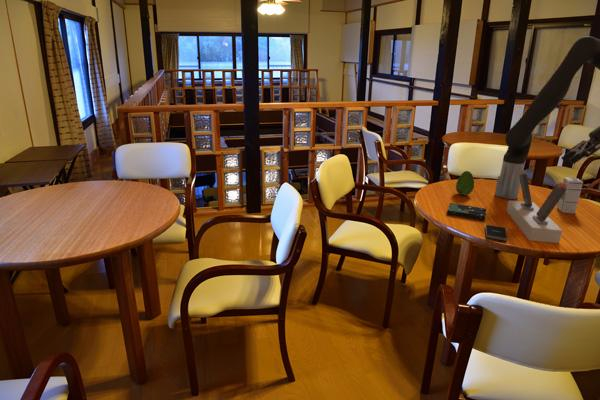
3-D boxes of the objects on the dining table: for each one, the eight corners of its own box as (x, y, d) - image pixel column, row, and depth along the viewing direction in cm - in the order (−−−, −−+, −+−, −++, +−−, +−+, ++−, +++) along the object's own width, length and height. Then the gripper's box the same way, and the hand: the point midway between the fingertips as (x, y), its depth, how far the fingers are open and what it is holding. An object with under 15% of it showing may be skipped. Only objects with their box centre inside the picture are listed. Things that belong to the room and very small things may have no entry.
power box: (531, 213, 176) (534, 200, 174) (558, 243, 148) (563, 227, 146) (506, 211, 177) (509, 198, 175) (529, 240, 150) (532, 225, 148)
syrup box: (575, 213, 177) (584, 181, 172) (560, 212, 178) (569, 180, 173) (570, 209, 182) (578, 177, 177) (555, 207, 183) (563, 176, 178)
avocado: (464, 198, 192) (468, 173, 188) (451, 193, 198) (455, 169, 194) (475, 196, 196) (480, 172, 192) (462, 191, 202) (466, 167, 198)
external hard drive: (504, 232, 157) (505, 227, 156) (506, 243, 147) (507, 238, 147) (485, 229, 159) (485, 224, 159) (485, 240, 150) (486, 235, 149)
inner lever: (529, 201, 169) (523, 167, 165) (534, 206, 165) (527, 170, 161) (522, 203, 170) (516, 169, 166) (526, 207, 165) (520, 172, 162)
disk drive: (485, 214, 175) (448, 208, 181) (486, 208, 174) (449, 202, 180) (484, 222, 166) (446, 215, 172) (485, 216, 165) (447, 209, 171)
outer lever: (540, 217, 156) (565, 182, 150) (545, 222, 151) (570, 186, 146) (534, 214, 156) (557, 179, 150) (538, 219, 151) (563, 183, 146)
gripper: (593, 125, 158) (554, 152, 164) (609, 125, 145) (566, 154, 150) (605, 140, 158) (566, 166, 163) (623, 141, 145) (580, 170, 150)
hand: (566, 161), depth 157 cm, fingers open, 8 cm apart
